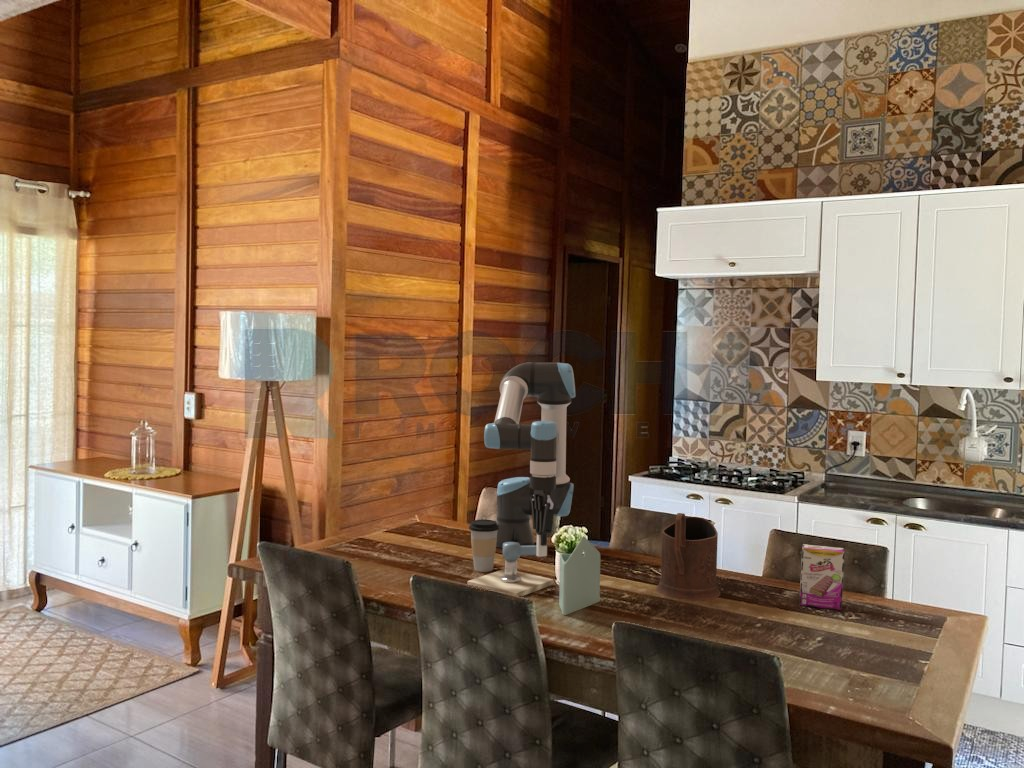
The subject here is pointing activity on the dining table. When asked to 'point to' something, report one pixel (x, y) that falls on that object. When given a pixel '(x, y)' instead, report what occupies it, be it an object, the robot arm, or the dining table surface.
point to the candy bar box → (822, 576)
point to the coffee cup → (483, 543)
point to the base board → (521, 588)
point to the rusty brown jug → (689, 559)
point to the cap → (517, 550)
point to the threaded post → (510, 572)
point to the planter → (579, 578)
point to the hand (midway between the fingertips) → (541, 555)
